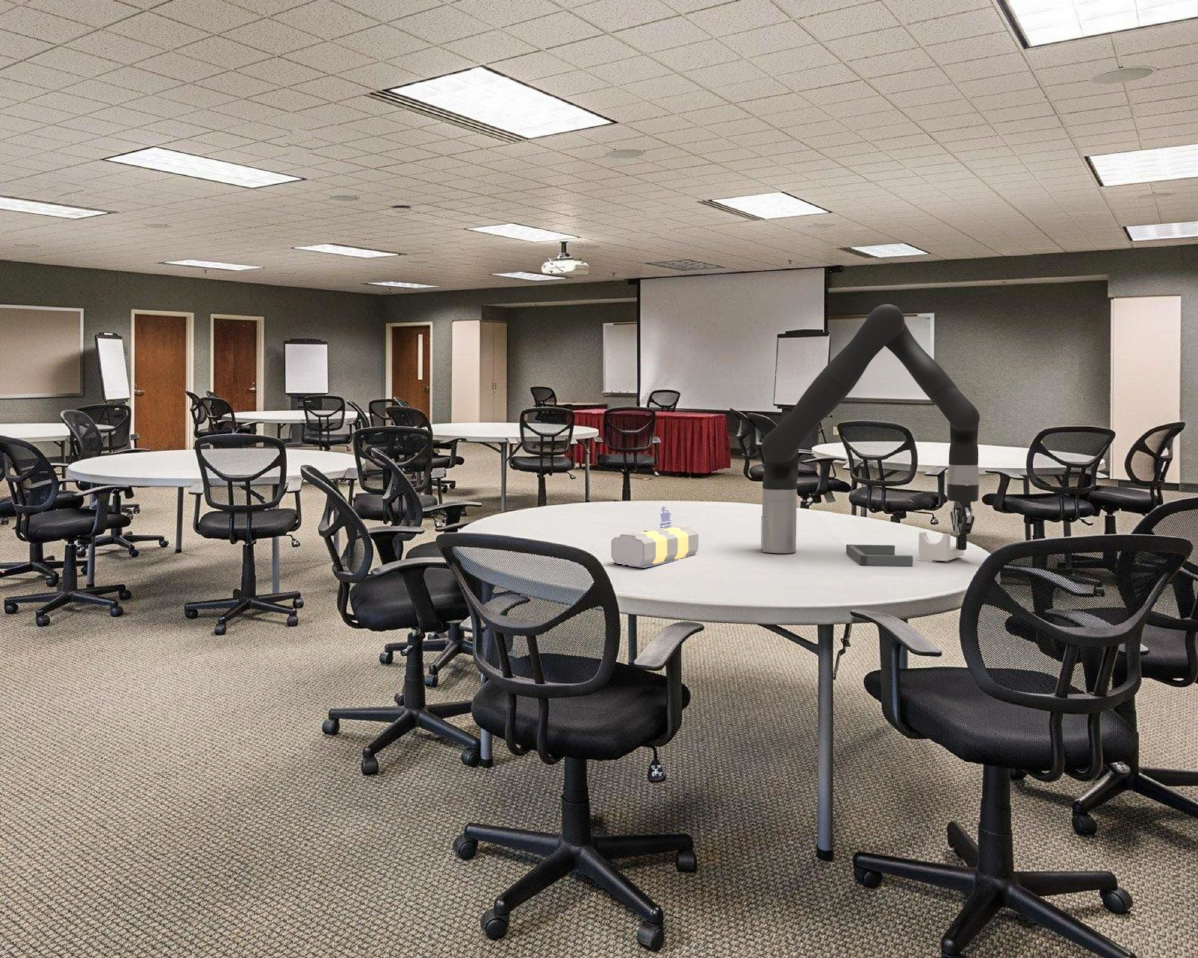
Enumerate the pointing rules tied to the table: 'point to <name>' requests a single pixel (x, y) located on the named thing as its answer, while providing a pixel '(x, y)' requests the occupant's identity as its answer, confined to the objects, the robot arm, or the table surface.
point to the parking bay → (877, 555)
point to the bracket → (937, 549)
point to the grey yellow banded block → (655, 545)
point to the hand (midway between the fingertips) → (961, 549)
